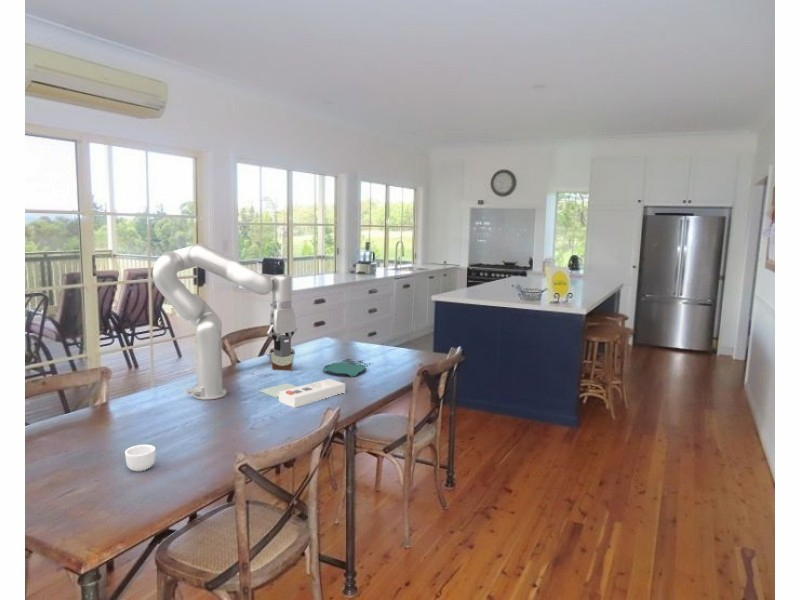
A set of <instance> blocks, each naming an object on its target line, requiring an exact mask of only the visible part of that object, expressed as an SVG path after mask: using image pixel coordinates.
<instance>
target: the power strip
mask: <svg viewBox="0 0 800 600" xmlns="http://www.w3.org/2000/svg"><path fill="white" fill-rule="evenodd" d="M341 393H344V394H346V383H344V382H341V381H338V380H334V379H332V378H327V379H323V380H319V381H315V382H310V383H307V384H304V385H300V386H296V387H295V388H291V389H287V390H283V391H279V398H278V402H279V403H282V404H284V405H286V406H288V407H292V408H293V409H296V408H299V407H302V406H306V405H309V404H312V403H316V402H319V400H320V401H323V400H326V399H325V398H327V399H329V398H328V397H330V398H332V397H331V396H334V395H337V394H340V395H342V394H341ZM337 396H338V395H337ZM334 397H335V396H334ZM322 399H323V400H322Z"/></svg>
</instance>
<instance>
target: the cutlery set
mask: <svg viewBox="0 0 800 600" xmlns="http://www.w3.org/2000/svg"><path fill="white" fill-rule="evenodd" d="M349 360H353V359H351V358H348V357H347V358H346V359H343V362H342V361H340V362H333V363H331V364H327V365H325V366H323V368H322V371H323V372H325V373H329V374H333V375H338V376H349V377H351V376H354V377H356V376H357V375H359V374H362V373H364V372H366V370H367V366H363V365H361V364H359V365H357V364H358V363H353V362H354V361H349ZM361 361H364V360H363V359H362V360H361Z"/></svg>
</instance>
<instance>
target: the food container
mask: <svg viewBox="0 0 800 600" xmlns="http://www.w3.org/2000/svg"><path fill="white" fill-rule="evenodd" d="M269 354H270V363H271V370H273V371H282V372H285V371H286V372H292V371H293V365H294V358H295V357H294V356H295V355H296V351H295V349H294V348H293V347H291V356H287V357H279V356H275V355H274V347H273V348H270V349H269Z"/></svg>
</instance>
